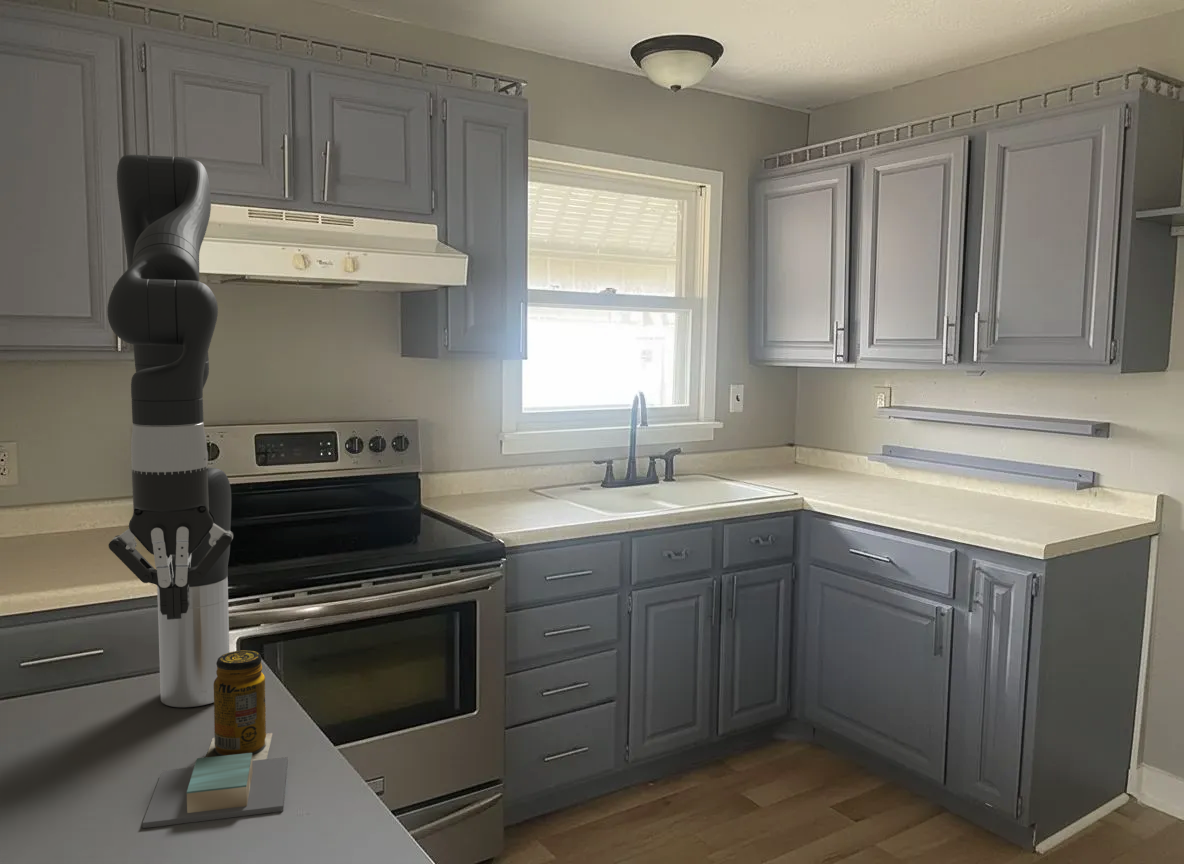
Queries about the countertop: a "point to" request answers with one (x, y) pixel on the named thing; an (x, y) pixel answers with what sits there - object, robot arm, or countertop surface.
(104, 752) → the countertop surface
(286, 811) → the countertop surface
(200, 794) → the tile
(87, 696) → the countertop surface
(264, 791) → the mat
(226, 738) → the condiment
